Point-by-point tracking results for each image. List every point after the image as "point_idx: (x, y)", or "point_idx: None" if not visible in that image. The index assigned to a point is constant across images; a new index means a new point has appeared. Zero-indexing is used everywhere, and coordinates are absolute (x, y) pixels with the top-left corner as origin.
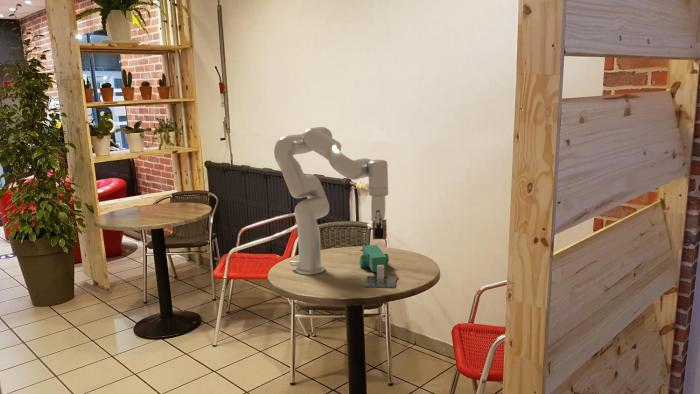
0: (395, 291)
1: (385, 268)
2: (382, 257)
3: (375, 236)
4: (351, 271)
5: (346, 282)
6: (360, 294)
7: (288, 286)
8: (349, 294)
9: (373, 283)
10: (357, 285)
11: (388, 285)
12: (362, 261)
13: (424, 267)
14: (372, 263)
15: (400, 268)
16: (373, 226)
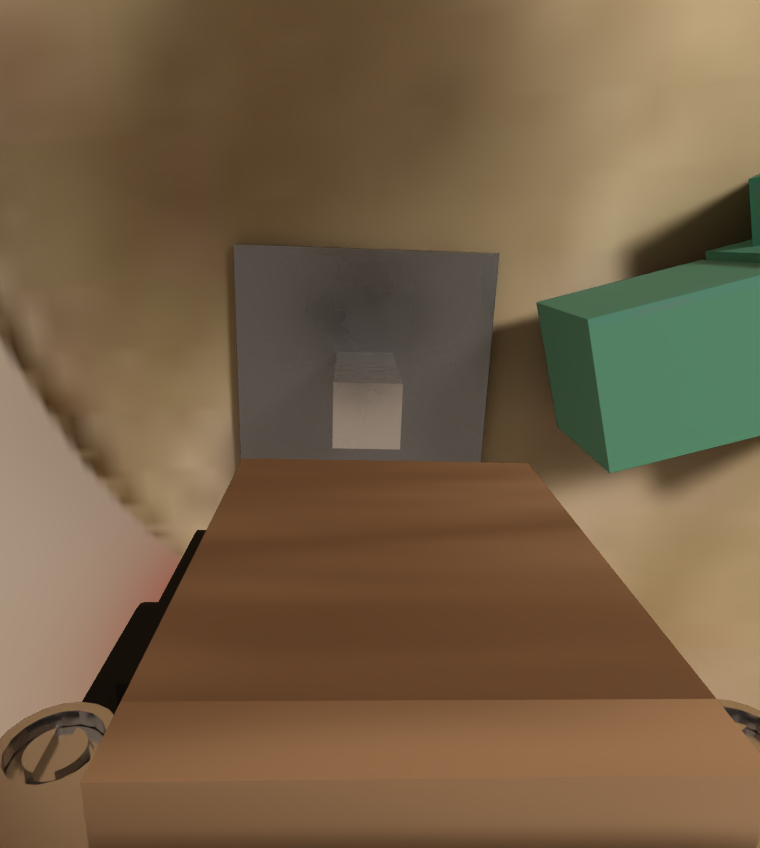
0: (166, 494)
1: (563, 425)
2: (602, 434)
3: (192, 552)
4: (684, 74)
5: (356, 52)
6: (55, 221)
7: None
8: (37, 117)
9: (297, 321)
10: (279, 174)
11: (257, 445)
12: (749, 185)
13: (701, 677)
14: (564, 313)
15: (705, 516)
16: (148, 679)
